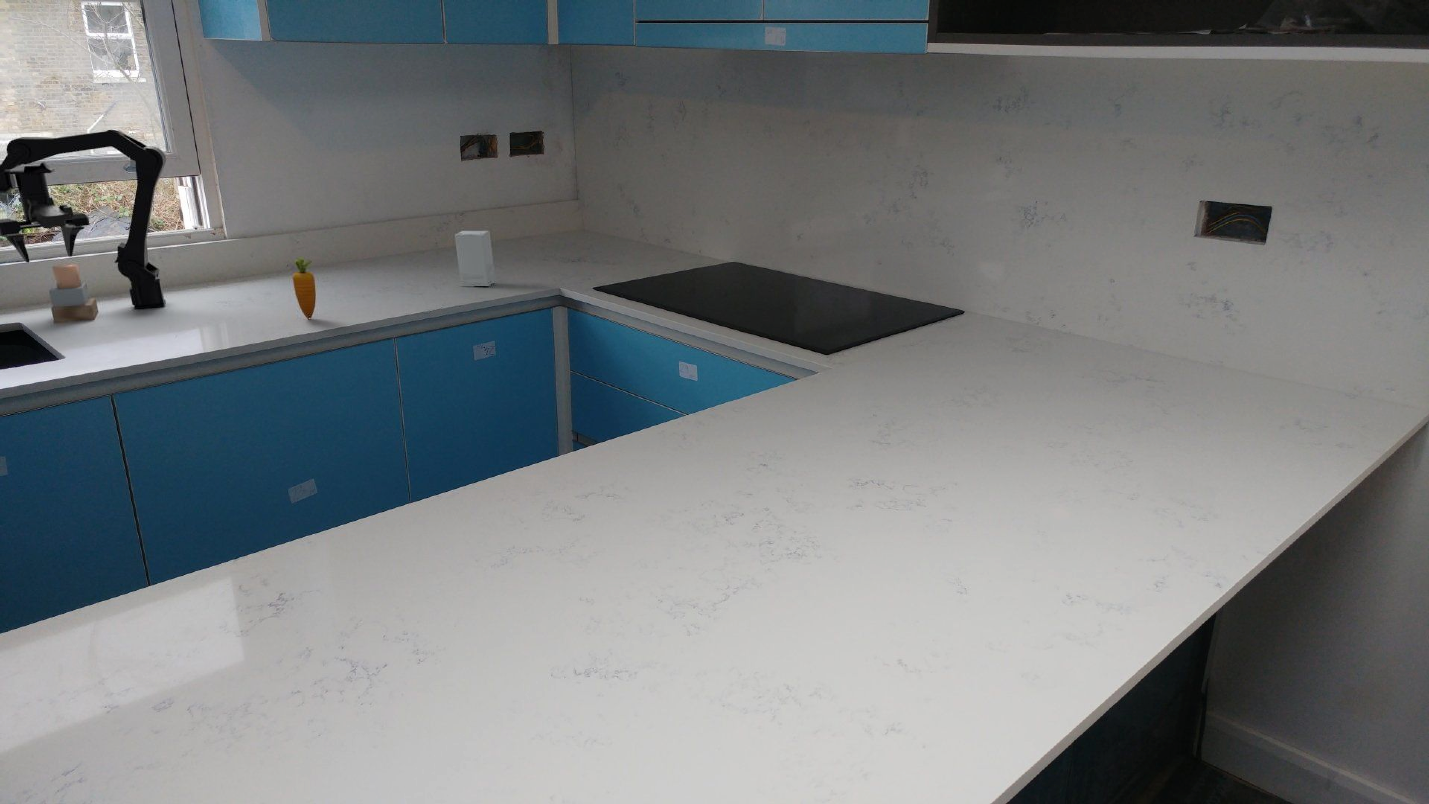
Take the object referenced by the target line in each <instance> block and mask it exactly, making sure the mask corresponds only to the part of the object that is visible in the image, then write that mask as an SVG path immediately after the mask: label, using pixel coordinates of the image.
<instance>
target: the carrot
mask: <svg viewBox="0 0 1429 804" xmlns="http://www.w3.org/2000/svg"><path fill="white" fill-rule="evenodd" d="M294 262H295V265H296V267H297V269H298V270H299V272H295V273H294V274H293V275H292V283H293V288H294V292H295V294H294V295H295V297H296V300H297V303H298V305H299V309H300V310H301V311H302V313H303V315H304V316H305V318H306V319H308V320H310V319H312V317H313V315H314V312H315V307H316V299H317V298H316V296H317V295H316V294H317V293H316V282H315V280H316V279H315V276H314V274H313V273H312V272H311V271H306V270H307V267H308V266H309V264H311V263H312V260H310V259H309V260H307V261H306V262H305V257H299V258H297V259H296V260H295V261H294ZM304 262H305V263H304ZM309 318H310V319H309Z"/></svg>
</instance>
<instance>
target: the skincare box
mask: <svg viewBox="0 0 1429 804" xmlns="http://www.w3.org/2000/svg"><path fill="white" fill-rule="evenodd" d="M454 241H455V248H456V254H457V255H456V256H457V263H458V264H457V265H458V271H459V273H458V274H459V278H460V279H459V280H460V286H461V287H474V286H489V287H491V286H492V285H493V284H492V283H494V282H495V283H496V274H495V267H494V257H493V248H492V241H491V233H490V230H462V231H459V232H457V233H455V234H454ZM495 283H494V284H495ZM491 284H492V285H491Z"/></svg>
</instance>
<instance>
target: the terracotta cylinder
mask: <svg viewBox="0 0 1429 804" xmlns="http://www.w3.org/2000/svg"><path fill="white" fill-rule="evenodd" d="M51 267H52V268H51V269H52V272H53V276H54V280H55V285H57V288H58V289H71V288H77V287H81V286H82V283H83V282H82V279H81V274H80V269H79V265H78V264H77V263H62V264H55V265H52V266H51Z"/></svg>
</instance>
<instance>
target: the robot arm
mask: <svg viewBox="0 0 1429 804" xmlns="http://www.w3.org/2000/svg"><path fill="white" fill-rule="evenodd" d="M110 147H111V148H114V149H115V150H117V151H119V152H120V153H121V154H123V155H124V156H126V157H127V158H129V159H130V160H132V161H134V162H135V173H136V182H137V183H136V189H135V190H136V191H135V196H134V202H133V207H132V212H131V213H132V214H131V219H130V226H129V230H128V231H129V232H128V237H127V240H126V243H124V242H120V243H119V245H118V246H117V257H116V259H115V261H114V263H115V264H117V270H118V271H119V273H120V274H121V275H122V276H124V277H125V278H127V279H128V280H129V282H130V286H131V287H129V295H130V300H131V304H132V306H134V307H133V308H134V309H135V310H137V309H138V310H139V309H150V308H161V307H163V308H164V307H165V306H166V302H167V301H166V299H165V296H164V291H163V286H162V281H161V278H158V277H159V276H160V275H159V274H160V269H159V268H158V267H157V266H155V265H154V264H152V263H151V262H149V257H148V256H149V254H148V253H149V251H148V244H147V243H148V242H147V238H148V234H149V233H148V232H149V227H150V221H151V215H152V210H153V204H154V199H155V198H154V197H155V192H156V188H157V184H158V182H159V180H160V177H161V176H162V173H163V170H164V169H165V168H164V167H165V165H166V162H167V157H166V154H165V152H163V150H162V149H161V148H159V147H156V146H152V145H146V144H144V143H143V142H142V141H139V140H138V139H135V138H133V137H131V136H129V135H127V134H126V133H124V132H123V131H121V130H120V129H117V128H109V129H107V130H102V131H95V132H94V131H93V132H87V133H79V134H73V135H66V136H65V135H64V136H58V137H57V136H56V137H46V136H45V137H43V136H21V137H18V138H14V139H12V140H10V141H9V142H8V144H7V145H6V156H5V158H4V159H3V161H2V162H1V164H0V195H11V194H12V190H16V187H17V189H18V193H19V197H18V199H17V200H18V203H21V207H22V211H23V214H24V215H23V214H22V219H23V220H21V221H19V220H16V219H13V218H12V219H11V218H6V219H5V218H4V219H0V237H4V238H6V239H7V240H8V242H10V243H11V245H12V246H13V247H14V249H16V251H17V253H18V254H19V256H20V257H22V259H23V260H24V262H25V263H28V264H29V263H30V255H29V253H28V250H27V247H26V244H25V240H24V239H25V235H24V234H23V233H21V230H29V229H35V228H36V229H37V228H43V229H48V230H49V229H53V228H58V227H59V228H60V229H61V230H60V231H61V233H62V237H63V242H64V247H65V250H66V253H67V256H68V257H70V258H71V257H73V253H74V247H75V244H76V239H77V237H78V234H79V232H80V231H81V230H85V226H86V227H87V226H90V219H89V217H88V215H87V214H86V213H84V212H79V211H73V208H72V206H71V205H70V204H67V203H66V204H60V205H57V206H56V204H55V202H54V199H53V197H51V195H50V192H49V188H48V183H47V178H46V174H51V173H53V172H55V168H53V167H52V166H49V165H48V164H47V163H46V162H45V161H42V160H45V159H48V158H50V157H53V156H57V155H62V154H63V155H64V154H69V153H74V152H75V153H76V152H83V151H89V150H90V151H91V150H96V149H103V148H110ZM39 161H42V162H41V163H40V164H39V165H29V164H32V163H35V162H39ZM22 165H25V166H24V168H23V170H22V169H21V170H14V169H15V168H18V167H21V166H22Z"/></svg>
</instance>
